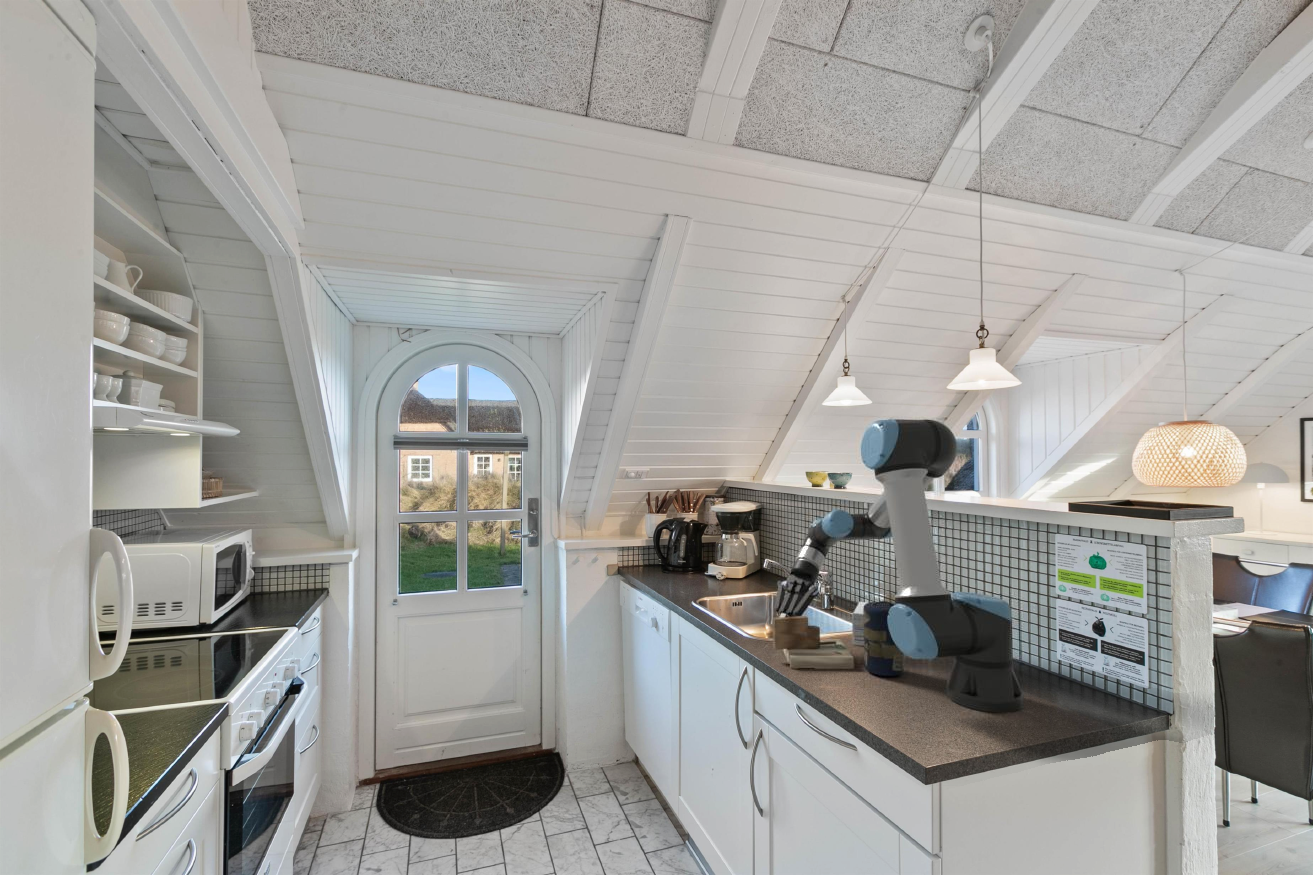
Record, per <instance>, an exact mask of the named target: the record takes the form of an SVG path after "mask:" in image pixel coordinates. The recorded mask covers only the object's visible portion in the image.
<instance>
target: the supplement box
mask: <svg viewBox="0 0 1313 875" xmlns="http://www.w3.org/2000/svg"><path fill="white" fill-rule="evenodd" d="M867 603H870V601H869V602H867V601H865V602H864V601H858V603H857V605H856V607H855V609H854V610H853V612H852V616H851V617H852V620H851V621H852V622H851V623H852V626H851V627H852V632H851V633H852V635H851V636H852V645H856V646H861V647H864V635H863V608H864V605H865V604H867Z"/></svg>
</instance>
